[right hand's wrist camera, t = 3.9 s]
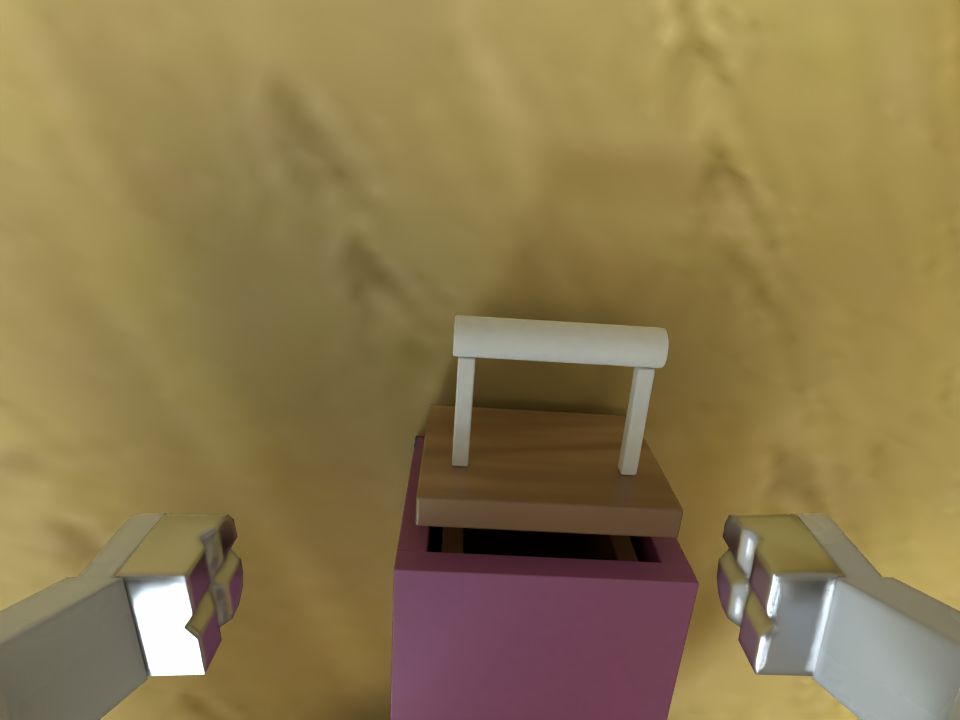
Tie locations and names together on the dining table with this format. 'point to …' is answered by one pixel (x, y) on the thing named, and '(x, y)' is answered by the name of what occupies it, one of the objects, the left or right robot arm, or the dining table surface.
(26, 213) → the dining table surface
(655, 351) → the drawer
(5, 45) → the dining table surface
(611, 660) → the magenta elongated box
